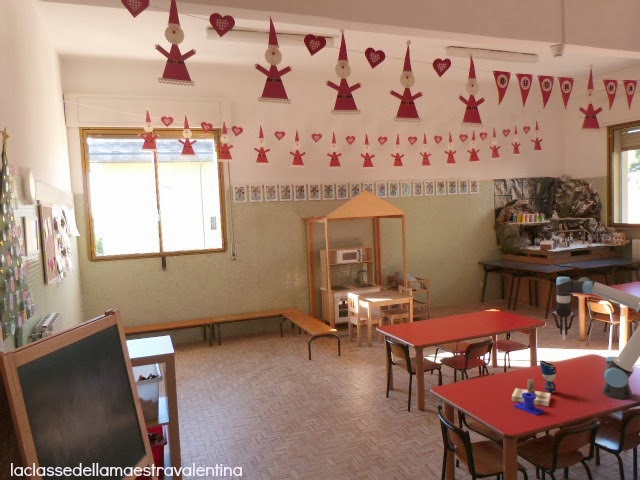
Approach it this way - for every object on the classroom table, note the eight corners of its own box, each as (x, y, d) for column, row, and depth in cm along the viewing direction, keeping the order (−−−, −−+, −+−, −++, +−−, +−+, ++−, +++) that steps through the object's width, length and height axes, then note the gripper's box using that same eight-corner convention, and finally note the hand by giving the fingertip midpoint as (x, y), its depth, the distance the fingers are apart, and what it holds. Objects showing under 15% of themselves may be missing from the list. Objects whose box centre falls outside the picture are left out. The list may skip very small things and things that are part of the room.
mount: (513, 407, 280) (513, 392, 280) (522, 404, 284) (521, 389, 283) (536, 415, 267) (536, 400, 267) (545, 412, 271) (544, 397, 271)
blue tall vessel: (559, 396, 291) (559, 364, 290) (543, 396, 293) (542, 364, 292) (553, 389, 304) (553, 358, 303) (537, 388, 306) (537, 358, 305)
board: (550, 398, 290) (550, 393, 290) (548, 406, 278) (548, 401, 278) (515, 392, 301) (515, 388, 300) (511, 400, 289) (511, 395, 289)
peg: (535, 398, 290) (535, 379, 289) (534, 401, 287) (534, 381, 286) (528, 397, 292) (527, 378, 292) (527, 400, 289) (526, 380, 288)
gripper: (575, 301, 292) (576, 339, 293) (552, 300, 298) (552, 337, 300) (575, 303, 285) (575, 342, 287) (551, 302, 292) (551, 340, 293)
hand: (563, 339), depth 293 cm, fingers closed
